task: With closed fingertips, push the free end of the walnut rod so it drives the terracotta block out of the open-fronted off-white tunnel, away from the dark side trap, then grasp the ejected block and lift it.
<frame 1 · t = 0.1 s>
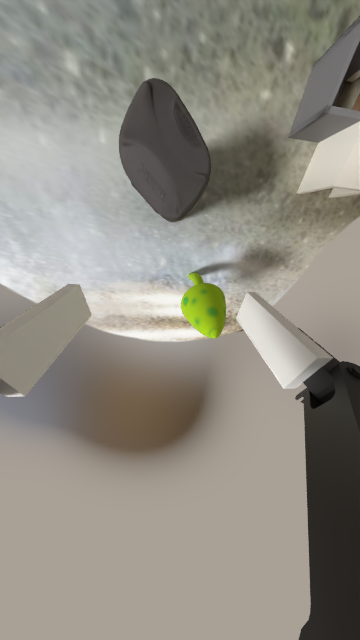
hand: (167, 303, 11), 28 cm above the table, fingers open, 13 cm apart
tunnel: (340, 145, 25), on the table
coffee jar: (168, 192, 27), on the table
mushroom: (191, 275, 38), on the table
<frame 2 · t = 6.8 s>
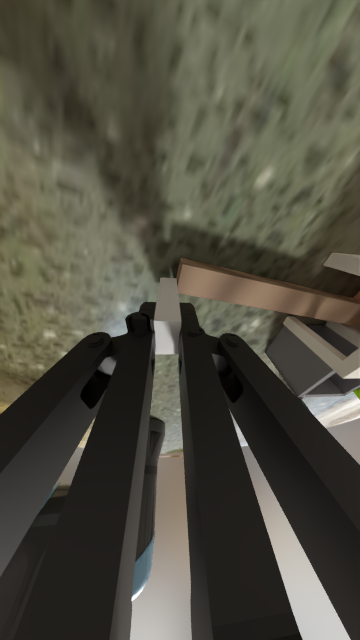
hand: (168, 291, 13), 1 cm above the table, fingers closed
tunnel: (354, 296, 16), on the table
mushroom: (356, 389, 34), on the table
rod: (270, 290, 15), on the table, touching gripper
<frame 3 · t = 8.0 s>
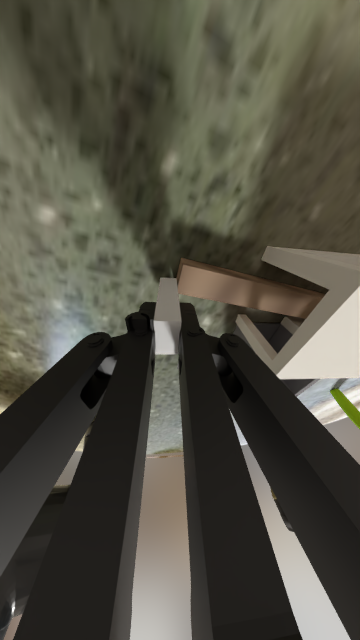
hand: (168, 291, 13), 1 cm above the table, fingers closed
tunnel: (304, 293, 16), on the table
mushroom: (333, 389, 33), on the table
rod: (270, 292, 15), on the table, touching block, gripper
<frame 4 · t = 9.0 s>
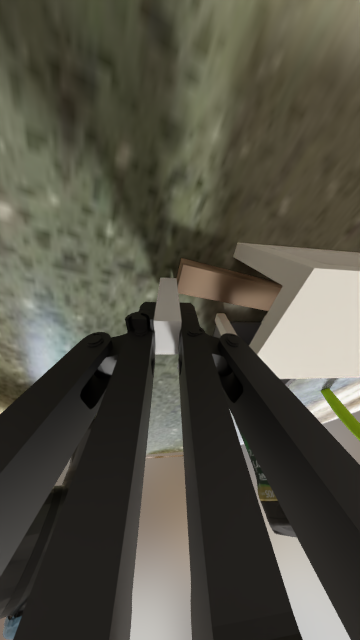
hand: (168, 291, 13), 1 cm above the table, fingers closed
tunnel: (282, 291, 15), on the table
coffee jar: (248, 403, 35), on the table
mushroom: (324, 389, 33), on the table
rod: (269, 292, 15), on the table
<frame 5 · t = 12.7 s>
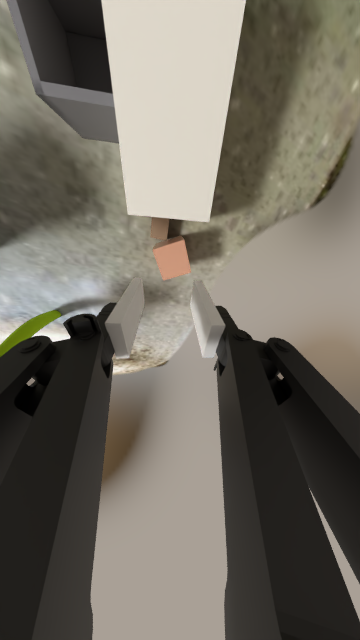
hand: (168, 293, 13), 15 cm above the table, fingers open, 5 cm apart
tunnel: (171, 149, 17), on the table
block: (172, 253, 24), on the table
mushroom: (56, 313, 30), on the table
rod: (170, 135, 16), on the table
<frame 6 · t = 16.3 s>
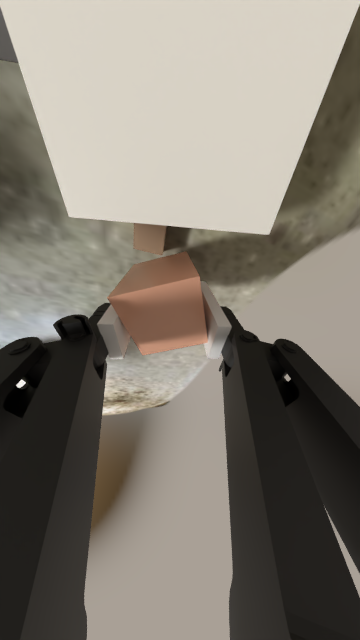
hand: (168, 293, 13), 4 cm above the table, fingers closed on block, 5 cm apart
tunnel: (178, 88, 8), on the table
block: (167, 283, 12), point 3 cm above the table, touching gripper
rod: (171, 34, 8), on the table
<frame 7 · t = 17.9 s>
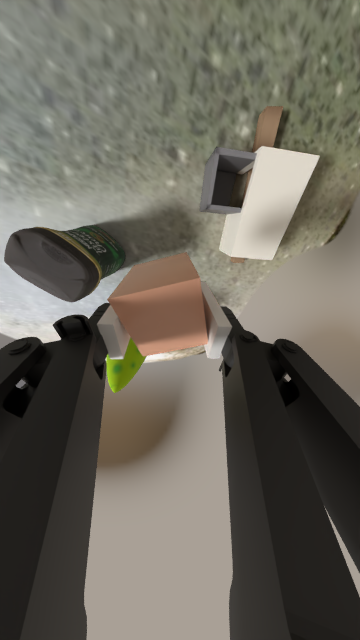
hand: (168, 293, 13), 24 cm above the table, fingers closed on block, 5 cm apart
tunnel: (246, 216, 29), on the table
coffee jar: (104, 249, 32), on the table
block: (167, 284, 12), point 24 cm above the table, touching gripper
mushroom: (141, 311, 42), on the table
rod: (246, 205, 28), on the table
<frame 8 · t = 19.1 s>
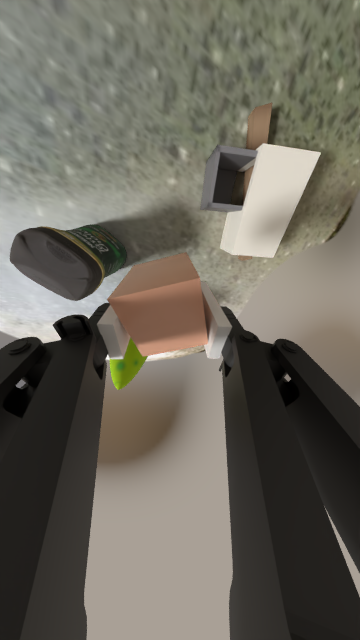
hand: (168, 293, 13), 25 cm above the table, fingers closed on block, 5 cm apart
tunnel: (247, 213, 29), on the table
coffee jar: (106, 248, 32), on the table
block: (167, 284, 12), point 25 cm above the table, touching gripper
mushroom: (142, 309, 43), on the table
rod: (247, 202, 28), on the table
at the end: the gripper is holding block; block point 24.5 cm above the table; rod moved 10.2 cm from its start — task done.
